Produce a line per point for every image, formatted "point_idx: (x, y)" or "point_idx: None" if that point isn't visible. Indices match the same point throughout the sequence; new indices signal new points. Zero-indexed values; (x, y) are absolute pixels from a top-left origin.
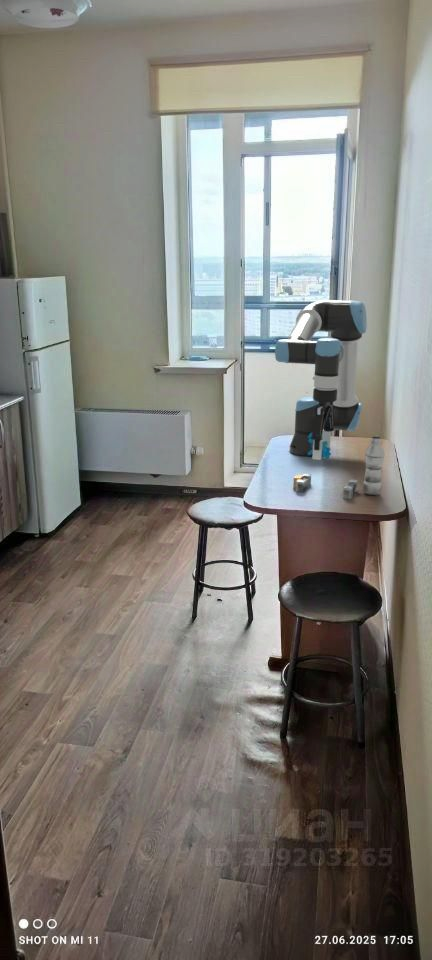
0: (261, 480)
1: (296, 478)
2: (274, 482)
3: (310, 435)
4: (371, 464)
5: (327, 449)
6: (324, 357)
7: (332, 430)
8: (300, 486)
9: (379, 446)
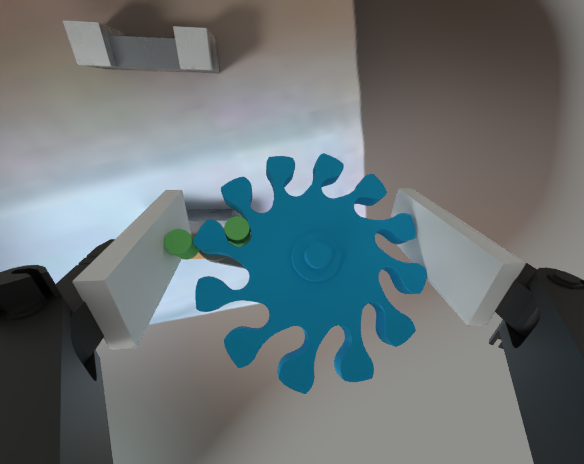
0: (198, 312)
1: None
2: (193, 288)
3: (358, 370)
4: None
5: (251, 198)
6: None
7: (47, 279)
8: None
9: None
